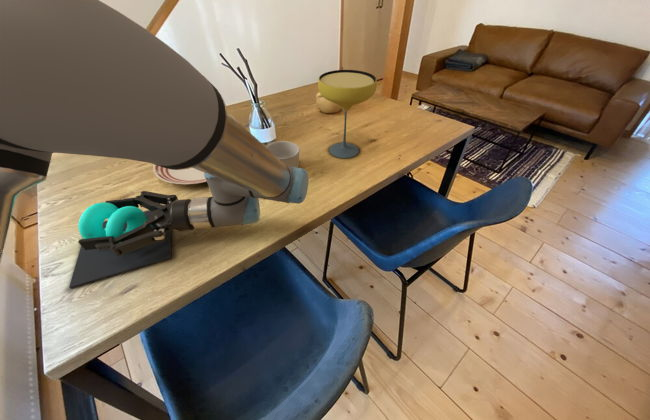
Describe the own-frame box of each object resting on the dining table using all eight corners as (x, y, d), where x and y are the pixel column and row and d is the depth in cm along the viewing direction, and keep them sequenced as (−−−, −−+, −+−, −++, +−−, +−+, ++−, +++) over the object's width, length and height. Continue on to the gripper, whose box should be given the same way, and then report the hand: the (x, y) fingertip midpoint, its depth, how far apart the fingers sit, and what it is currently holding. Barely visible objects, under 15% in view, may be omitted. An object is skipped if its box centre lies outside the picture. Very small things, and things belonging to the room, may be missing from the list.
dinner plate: (238, 141, 106) (236, 133, 104) (247, 181, 87) (244, 173, 84) (161, 153, 100) (157, 145, 97) (152, 199, 80) (147, 190, 78)
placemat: (70, 288, 59) (68, 287, 58) (88, 227, 72) (87, 225, 72) (171, 258, 64) (170, 257, 64) (170, 206, 78) (169, 205, 78)
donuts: (122, 222, 72) (101, 193, 65) (156, 227, 71) (138, 198, 64) (92, 251, 65) (64, 222, 58) (129, 258, 63) (105, 228, 57)
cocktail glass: (377, 147, 102) (387, 75, 85) (351, 170, 91) (357, 92, 74) (337, 134, 110) (339, 66, 93) (309, 153, 99) (305, 80, 82)
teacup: (283, 157, 97) (280, 137, 92) (307, 167, 92) (306, 146, 87) (254, 176, 89) (249, 154, 83) (279, 188, 84) (275, 166, 79)
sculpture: (322, 104, 133) (322, 80, 126) (346, 108, 129) (347, 84, 122) (312, 113, 125) (311, 88, 118) (337, 117, 122) (337, 92, 114)
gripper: (187, 264, 59) (79, 277, 57) (206, 194, 77) (124, 202, 75) (174, 242, 54) (55, 255, 52) (198, 172, 72) (110, 180, 70)
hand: (96, 224), depth 63 cm, fingers closed on donuts, 12 cm apart
